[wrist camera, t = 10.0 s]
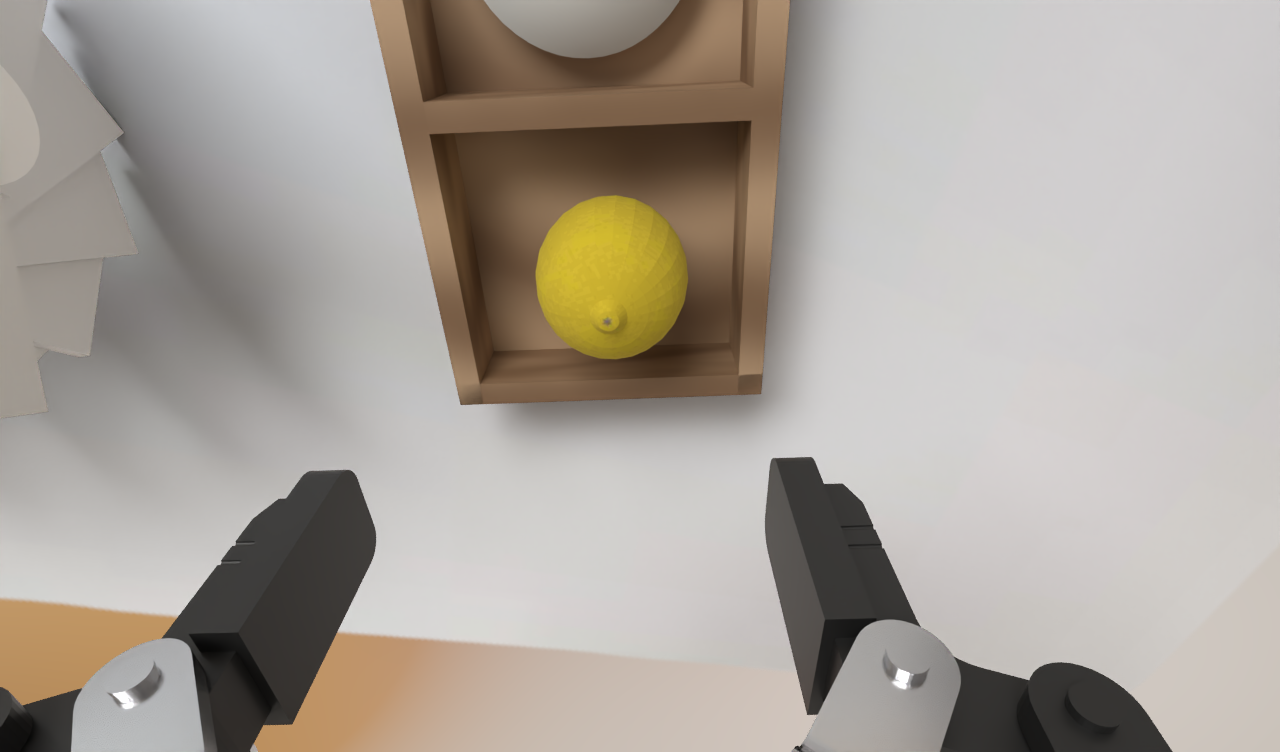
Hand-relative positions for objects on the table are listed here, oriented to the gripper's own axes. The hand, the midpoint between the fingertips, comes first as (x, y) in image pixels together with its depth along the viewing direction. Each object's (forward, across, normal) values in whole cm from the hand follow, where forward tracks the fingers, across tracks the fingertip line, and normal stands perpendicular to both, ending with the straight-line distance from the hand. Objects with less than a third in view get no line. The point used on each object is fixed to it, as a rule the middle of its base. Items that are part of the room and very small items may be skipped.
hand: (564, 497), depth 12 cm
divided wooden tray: (+17, 0, -5) cm, 18 cm away
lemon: (+16, 0, 0) cm, 16 cm away
